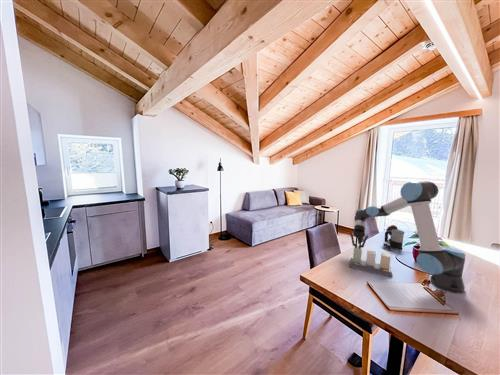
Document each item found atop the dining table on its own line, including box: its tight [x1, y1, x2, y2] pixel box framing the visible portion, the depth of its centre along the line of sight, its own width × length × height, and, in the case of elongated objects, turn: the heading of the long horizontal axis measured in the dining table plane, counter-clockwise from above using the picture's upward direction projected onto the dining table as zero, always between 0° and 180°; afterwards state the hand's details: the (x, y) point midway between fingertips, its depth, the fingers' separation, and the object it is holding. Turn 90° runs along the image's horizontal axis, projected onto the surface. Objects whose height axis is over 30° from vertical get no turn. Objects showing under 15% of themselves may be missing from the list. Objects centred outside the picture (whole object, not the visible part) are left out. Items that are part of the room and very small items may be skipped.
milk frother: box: [383, 229, 405, 251], centre depth 179 cm, size 14×16×15 cm
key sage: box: [352, 247, 363, 263], centre depth 151 cm, size 4×5×9 cm
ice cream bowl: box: [385, 224, 399, 241], centre depth 197 cm, size 11×11×15 cm
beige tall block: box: [379, 252, 391, 270], centre depth 143 cm, size 4×5×9 cm
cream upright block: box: [365, 249, 377, 266], centre depth 147 cm, size 4×5×9 cm
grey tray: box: [349, 257, 394, 278], centre depth 146 cm, size 12×25×3 cm, turn 62°
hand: (357, 255), depth 154 cm, fingers closed
